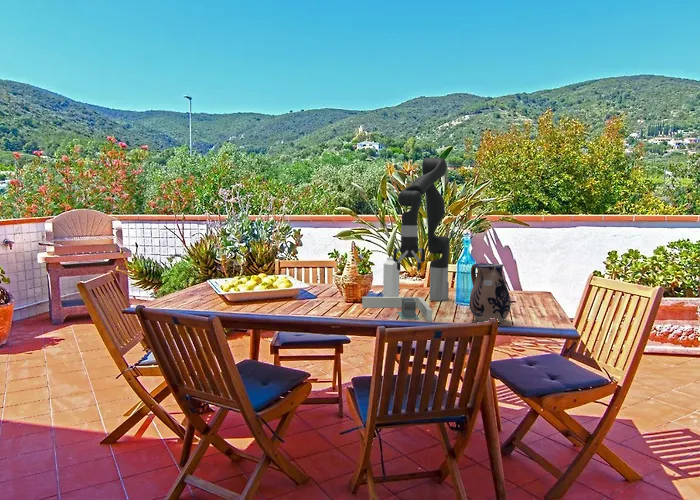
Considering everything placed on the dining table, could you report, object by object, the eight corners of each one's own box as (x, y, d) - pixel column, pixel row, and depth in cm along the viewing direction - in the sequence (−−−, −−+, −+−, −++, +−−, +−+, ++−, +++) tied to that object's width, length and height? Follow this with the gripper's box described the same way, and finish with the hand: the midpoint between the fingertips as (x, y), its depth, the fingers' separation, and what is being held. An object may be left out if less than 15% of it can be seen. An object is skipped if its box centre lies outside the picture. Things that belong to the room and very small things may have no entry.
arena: (421, 306, 269) (421, 296, 268) (431, 321, 239) (432, 309, 238) (362, 306, 268) (362, 296, 268) (365, 321, 238) (365, 309, 238)
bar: (415, 317, 244) (415, 302, 244) (404, 317, 244) (404, 302, 244) (412, 312, 255) (412, 297, 255) (401, 312, 255) (401, 297, 254)
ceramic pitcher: (492, 328, 227) (494, 268, 224) (454, 318, 244) (455, 263, 241) (518, 322, 237) (520, 265, 235) (480, 314, 254) (482, 260, 252)
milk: (392, 301, 283) (392, 258, 281) (382, 299, 287) (383, 257, 285) (399, 299, 288) (399, 257, 285) (390, 297, 292) (390, 256, 289)
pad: (414, 312, 257) (414, 311, 257) (419, 319, 243) (419, 318, 243) (397, 312, 257) (397, 311, 257) (401, 319, 243) (401, 318, 243)
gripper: (394, 236, 243) (394, 272, 245) (426, 236, 243) (425, 272, 245) (392, 234, 251) (392, 269, 252) (423, 234, 251) (423, 269, 253)
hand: (408, 270), depth 249 cm, fingers open, 8 cm apart
